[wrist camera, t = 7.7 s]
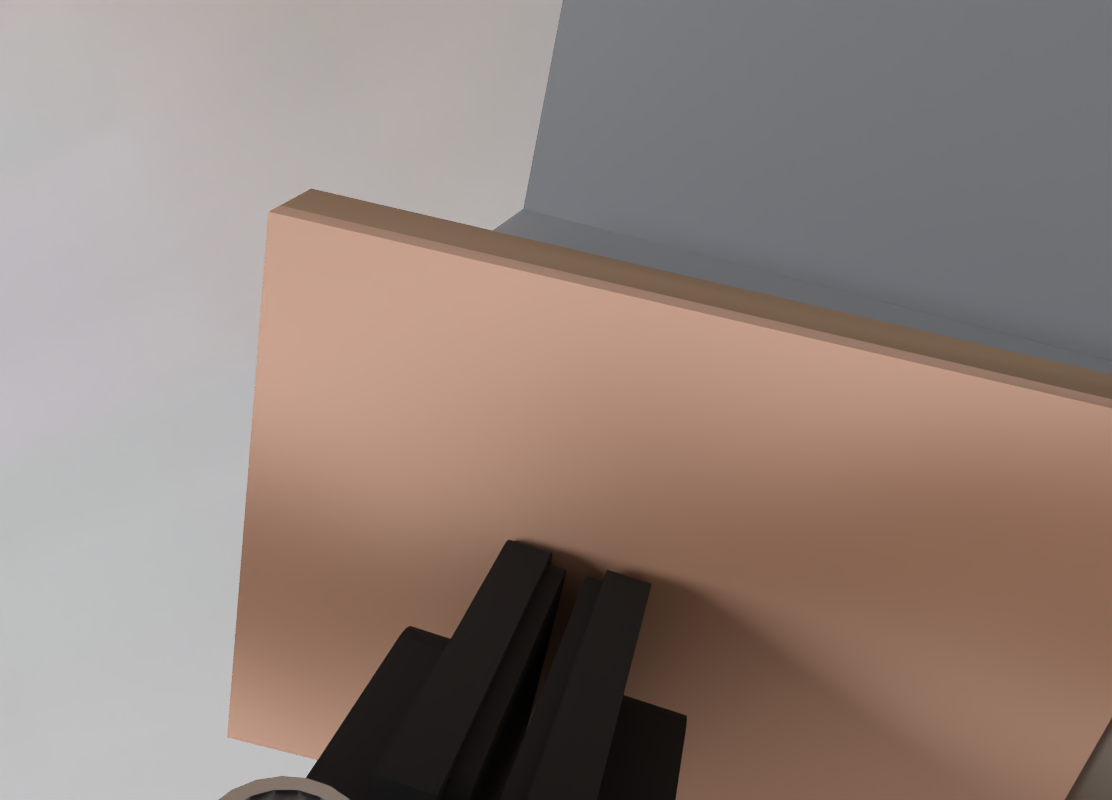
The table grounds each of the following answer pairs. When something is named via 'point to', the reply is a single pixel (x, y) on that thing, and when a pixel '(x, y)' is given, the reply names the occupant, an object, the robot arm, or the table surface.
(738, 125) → the grey ridged base plate
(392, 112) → the table surface
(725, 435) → the flap
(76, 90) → the table surface
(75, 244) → the table surface
